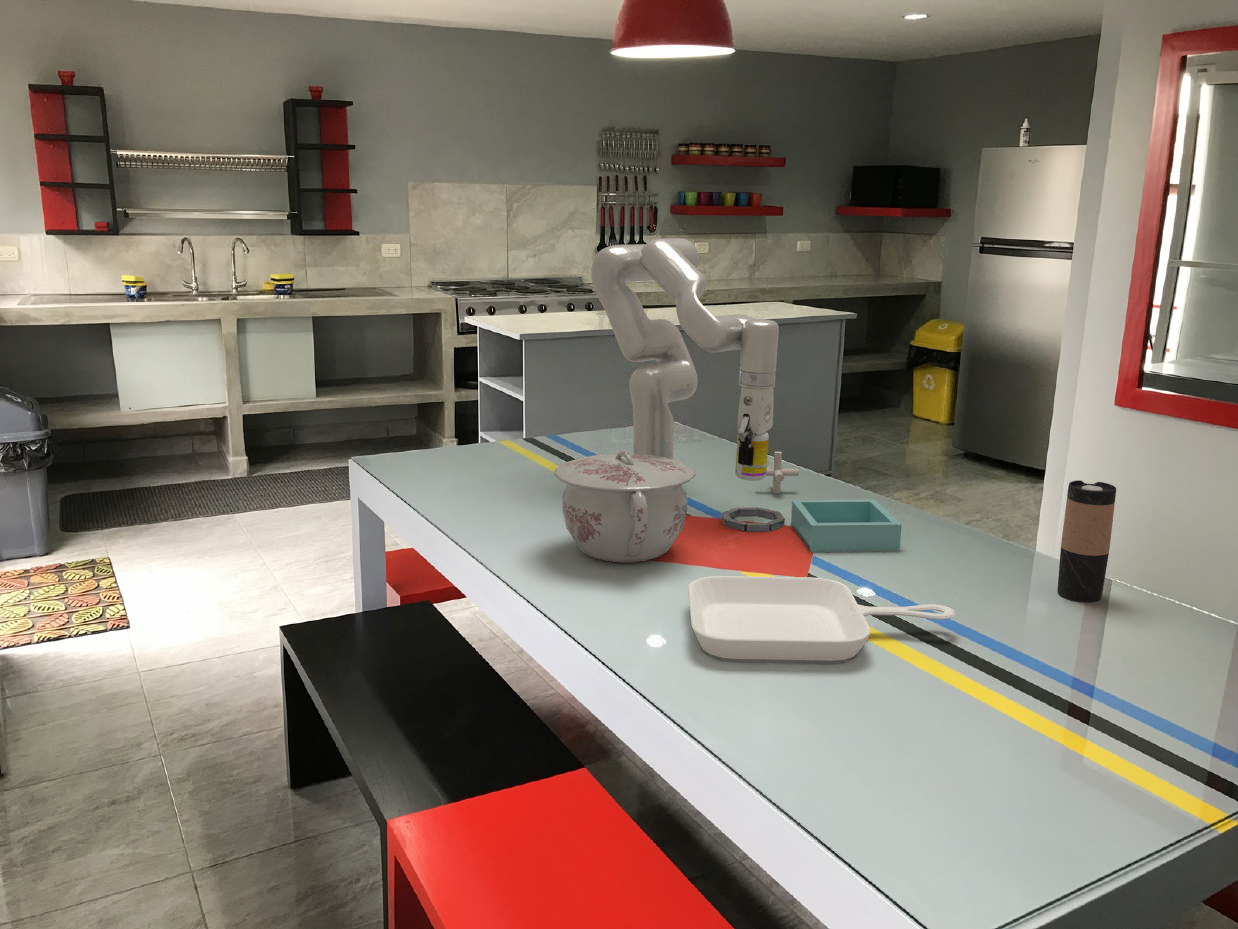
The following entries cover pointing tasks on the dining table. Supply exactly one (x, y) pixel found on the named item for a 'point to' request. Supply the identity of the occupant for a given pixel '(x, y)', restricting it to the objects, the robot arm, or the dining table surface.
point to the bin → (845, 525)
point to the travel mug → (1086, 540)
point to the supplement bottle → (754, 459)
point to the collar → (753, 527)
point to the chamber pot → (624, 504)
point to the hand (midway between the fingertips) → (751, 460)
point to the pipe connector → (779, 472)
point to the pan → (785, 619)
